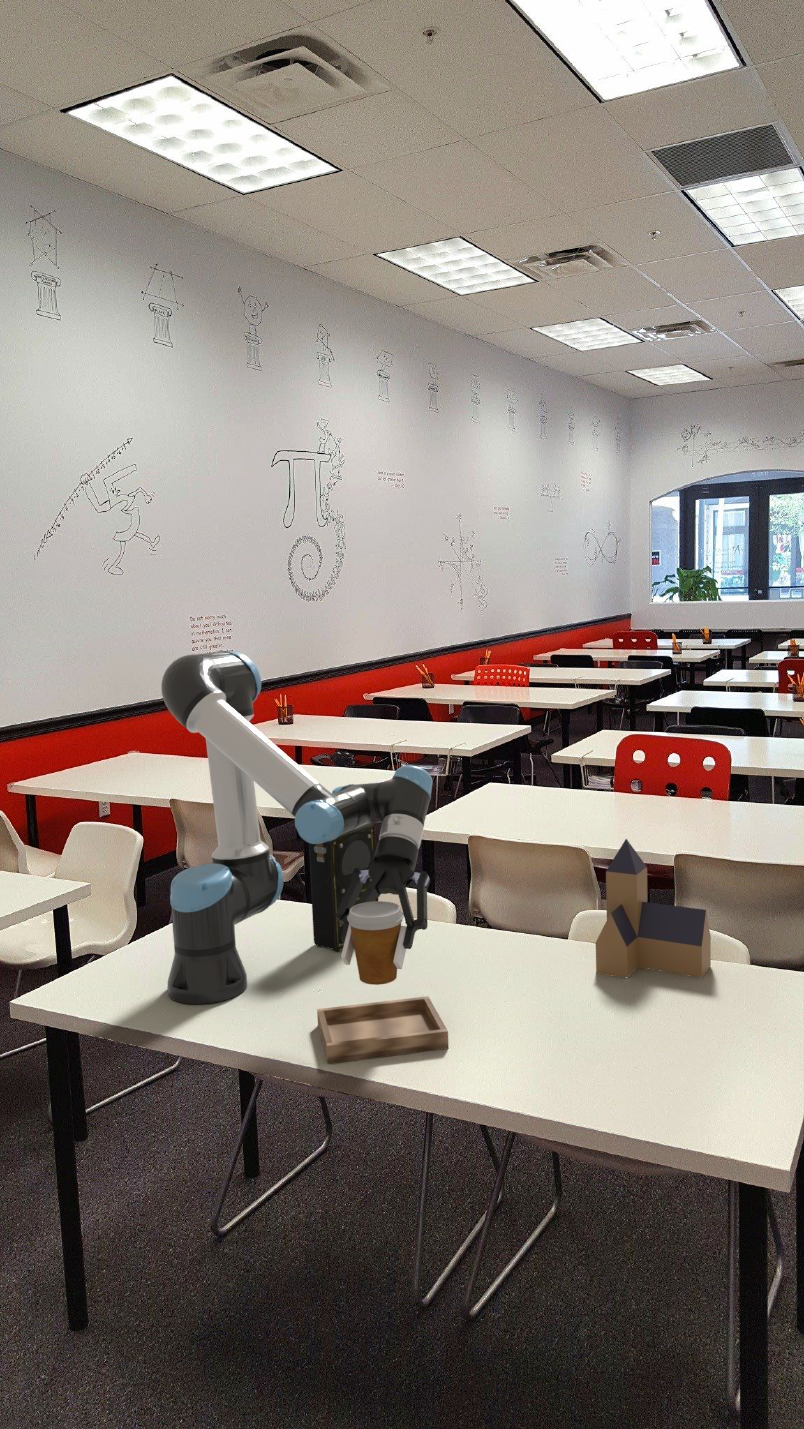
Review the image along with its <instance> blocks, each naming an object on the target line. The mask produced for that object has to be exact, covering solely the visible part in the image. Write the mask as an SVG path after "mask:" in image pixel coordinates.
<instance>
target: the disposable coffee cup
mask: <svg viewBox="0 0 804 1429" xmlns="http://www.w3.org/2000/svg"><path fill="white" fill-rule="evenodd" d="M404 919H405V918H404V914H403V910H402V907H401V905H400V904H397V903H396V902H391V901H381V900H378V901H374V902H365V903H361V904H358V905H355V906H353V907H352V908H350V911H349V915H348V916H347V920H348V922H349V924H350V926H351V932H352V937H353V944H354V955H355V959H356V960H355V961H356V966H357V971H358V977H359V981H360V982H362V983H363V984H367V985H375V986H377V985H378V986H379V985H387V984H389V983H392V982H394V981H395V980H396V979H397V977H398V969H397V967H396V966H395V964H394V962H393V961H394V956H395V952H396V947H397V942H398V938H399V933H400V929H401V926H402V922H403V920H404Z"/></svg>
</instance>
